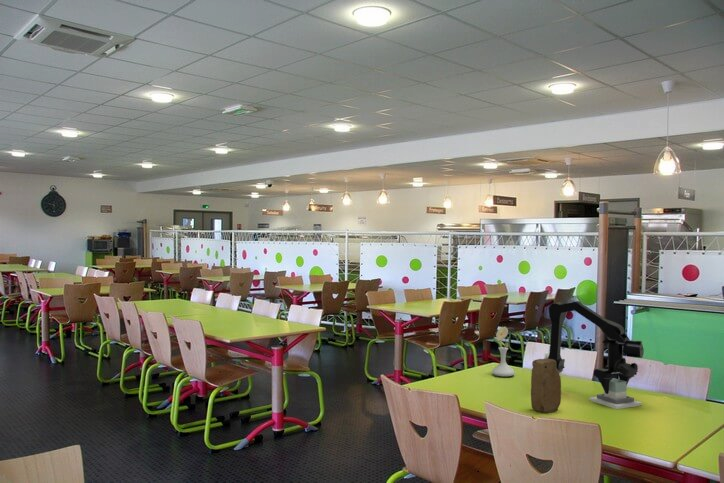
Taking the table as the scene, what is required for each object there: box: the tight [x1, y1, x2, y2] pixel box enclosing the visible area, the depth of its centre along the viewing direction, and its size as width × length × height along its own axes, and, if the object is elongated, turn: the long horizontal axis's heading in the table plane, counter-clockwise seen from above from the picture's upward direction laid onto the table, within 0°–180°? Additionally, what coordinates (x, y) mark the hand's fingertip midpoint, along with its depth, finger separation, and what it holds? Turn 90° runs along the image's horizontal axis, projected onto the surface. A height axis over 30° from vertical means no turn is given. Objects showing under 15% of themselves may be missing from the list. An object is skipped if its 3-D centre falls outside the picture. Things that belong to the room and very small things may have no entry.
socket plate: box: [588, 393, 643, 410], centre depth 230 cm, size 14×14×3 cm
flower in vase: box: [491, 326, 516, 377], centre depth 277 cm, size 13×11×25 cm
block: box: [530, 357, 562, 414], centre depth 219 cm, size 11×8×20 cm
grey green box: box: [603, 378, 627, 400], centre depth 230 cm, size 6×6×8 cm
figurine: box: [544, 345, 562, 376], centre depth 277 cm, size 7×9×15 cm
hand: (615, 392), depth 230 cm, fingers open, 9 cm apart
